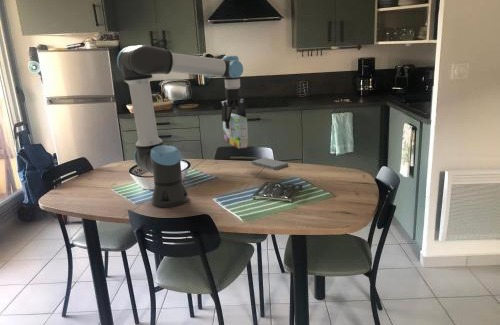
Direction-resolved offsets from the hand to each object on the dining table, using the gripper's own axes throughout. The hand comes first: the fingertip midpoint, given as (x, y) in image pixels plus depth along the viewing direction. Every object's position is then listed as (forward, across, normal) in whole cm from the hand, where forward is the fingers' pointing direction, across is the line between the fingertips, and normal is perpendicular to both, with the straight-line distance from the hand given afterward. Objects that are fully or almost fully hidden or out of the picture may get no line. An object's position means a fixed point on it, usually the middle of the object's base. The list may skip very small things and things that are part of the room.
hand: (235, 133), depth 205 cm
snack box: (+6, 0, 0) cm, 6 cm away
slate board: (+20, -20, +4) cm, 28 cm away
